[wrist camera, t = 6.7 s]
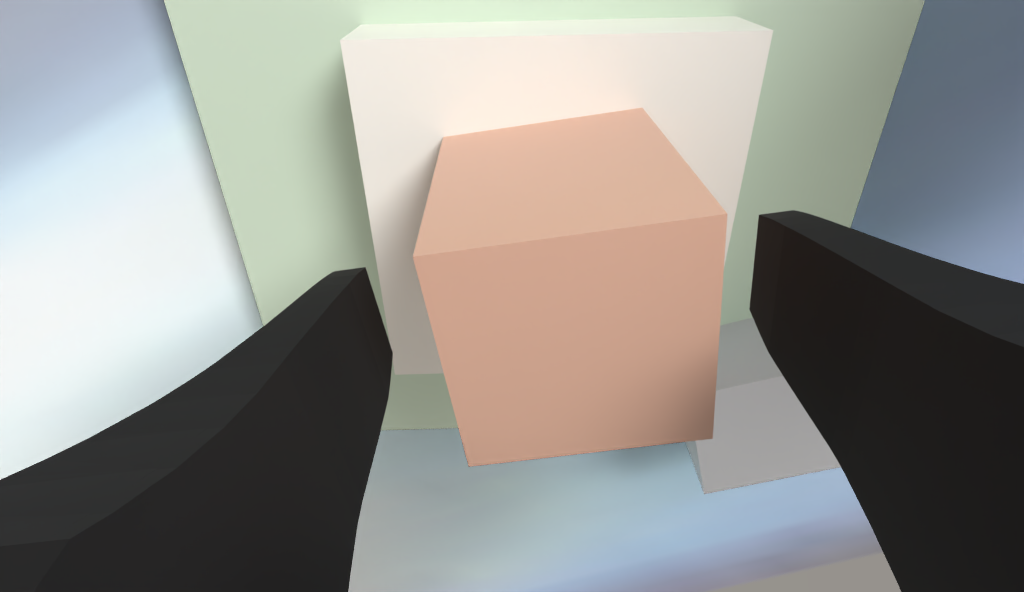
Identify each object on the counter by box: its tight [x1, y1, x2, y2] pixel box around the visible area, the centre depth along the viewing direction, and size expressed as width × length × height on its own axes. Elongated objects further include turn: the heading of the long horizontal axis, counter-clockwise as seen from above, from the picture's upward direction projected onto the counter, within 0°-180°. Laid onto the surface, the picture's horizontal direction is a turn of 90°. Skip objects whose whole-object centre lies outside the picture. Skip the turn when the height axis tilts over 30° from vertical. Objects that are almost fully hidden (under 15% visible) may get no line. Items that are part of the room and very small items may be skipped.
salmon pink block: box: [413, 108, 727, 467], centre depth 11 cm, size 4×4×5 cm
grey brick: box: [685, 318, 841, 494], centre depth 17 cm, size 4×4×2 cm
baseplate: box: [164, 0, 925, 430], centre depth 15 cm, size 16×16×1 cm
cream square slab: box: [340, 16, 773, 375], centre depth 14 cm, size 8×8×2 cm
